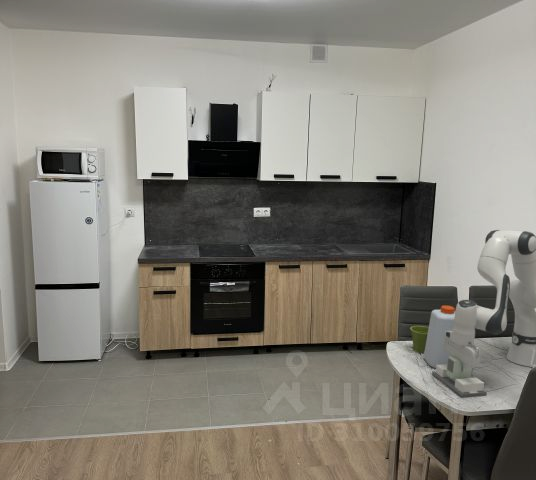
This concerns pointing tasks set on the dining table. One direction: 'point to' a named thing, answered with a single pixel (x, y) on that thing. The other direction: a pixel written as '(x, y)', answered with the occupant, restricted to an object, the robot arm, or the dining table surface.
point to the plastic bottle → (438, 336)
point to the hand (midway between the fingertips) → (459, 368)
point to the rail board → (452, 387)
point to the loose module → (457, 368)
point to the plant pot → (419, 338)
